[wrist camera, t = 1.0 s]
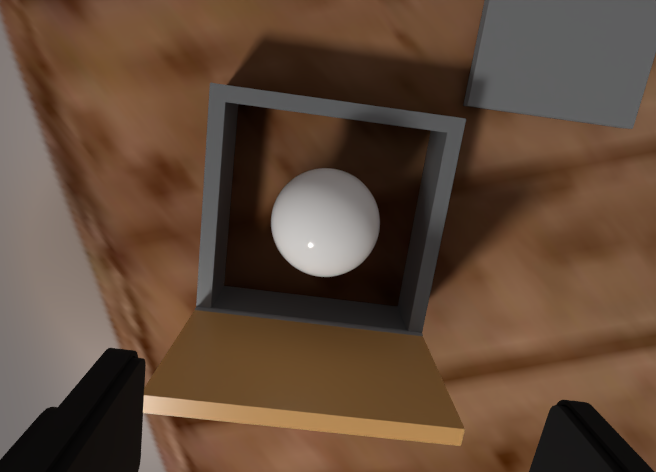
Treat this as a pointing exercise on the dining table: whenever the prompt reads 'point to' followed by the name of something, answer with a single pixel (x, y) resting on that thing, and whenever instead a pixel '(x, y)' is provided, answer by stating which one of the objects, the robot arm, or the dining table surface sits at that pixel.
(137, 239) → the dining table surface
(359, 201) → the lightbulb
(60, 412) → the robot arm
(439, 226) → the case
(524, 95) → the mat
